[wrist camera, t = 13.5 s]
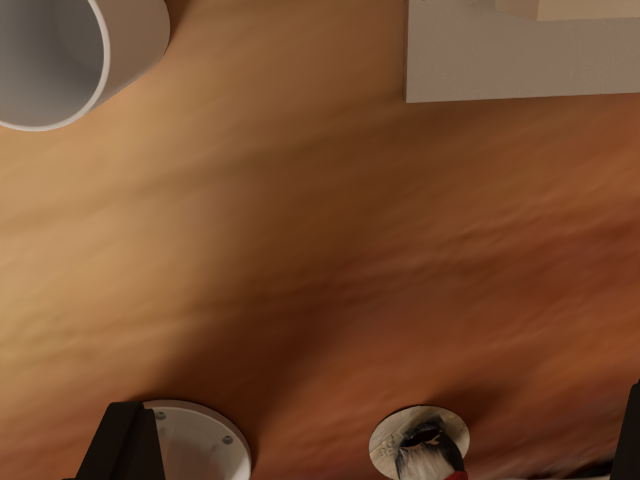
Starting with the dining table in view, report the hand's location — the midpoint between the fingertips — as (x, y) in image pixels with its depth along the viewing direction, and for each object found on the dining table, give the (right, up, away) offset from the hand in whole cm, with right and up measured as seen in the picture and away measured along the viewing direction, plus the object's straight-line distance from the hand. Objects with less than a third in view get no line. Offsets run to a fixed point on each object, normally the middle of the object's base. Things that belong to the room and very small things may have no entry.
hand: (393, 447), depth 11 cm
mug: (-15, +16, +20) cm, 30 cm away
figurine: (+7, -13, +35) cm, 37 cm away
